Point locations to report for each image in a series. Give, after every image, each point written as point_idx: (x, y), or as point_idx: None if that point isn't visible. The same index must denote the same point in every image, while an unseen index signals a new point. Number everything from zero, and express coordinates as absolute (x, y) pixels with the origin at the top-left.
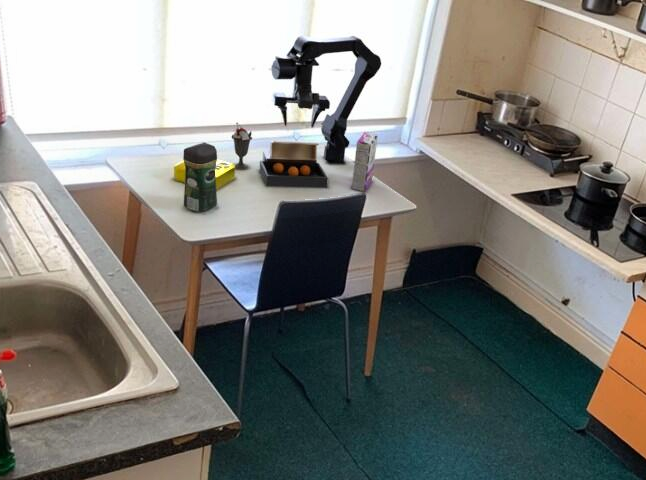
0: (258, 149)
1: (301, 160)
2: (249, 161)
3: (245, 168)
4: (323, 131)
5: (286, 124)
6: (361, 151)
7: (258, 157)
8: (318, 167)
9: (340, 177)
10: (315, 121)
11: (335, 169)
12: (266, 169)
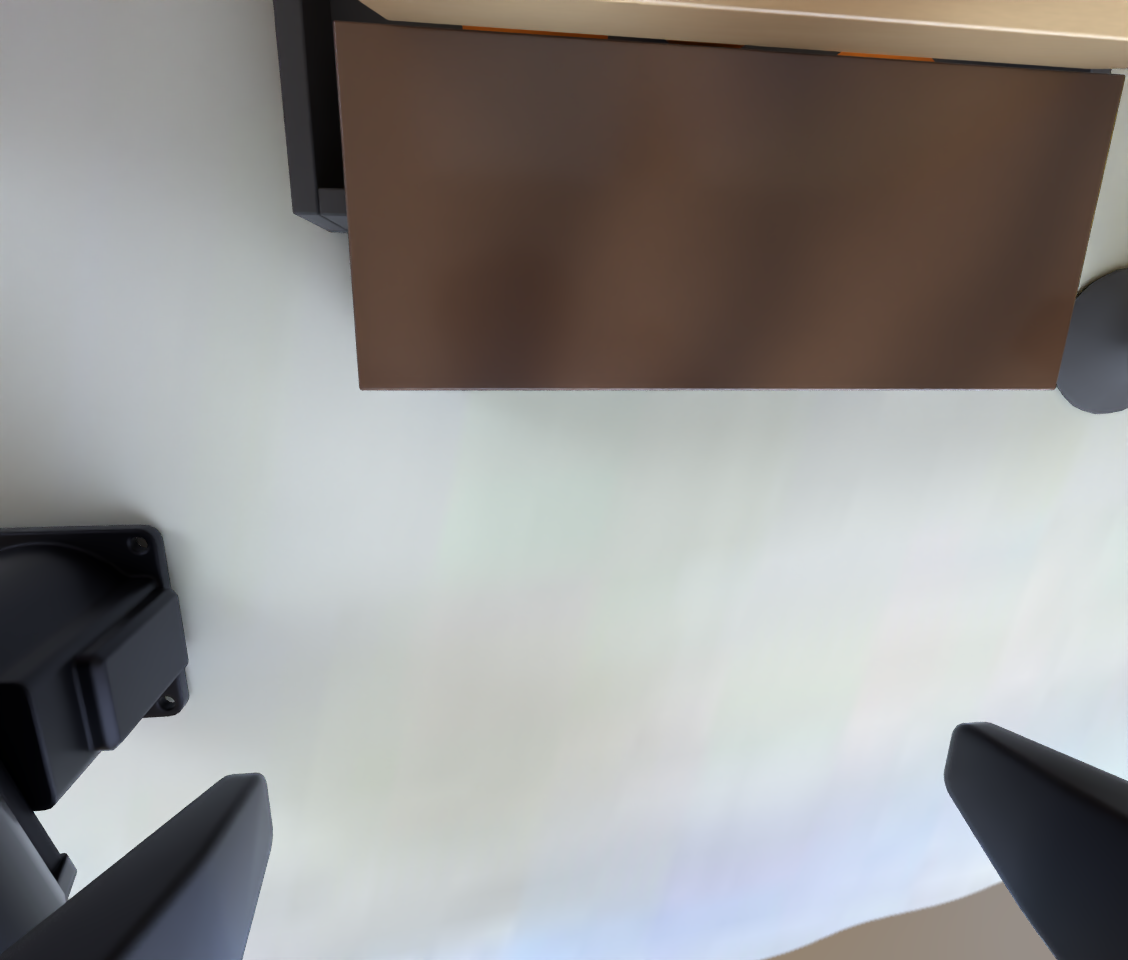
0: (810, 779)
1: (605, 44)
2: (983, 493)
3: (1102, 283)
4: (5, 913)
5: (994, 742)
6: None
7: (869, 600)
8: (318, 106)
9: (24, 69)
10: (29, 935)
11: (77, 357)
12: None
